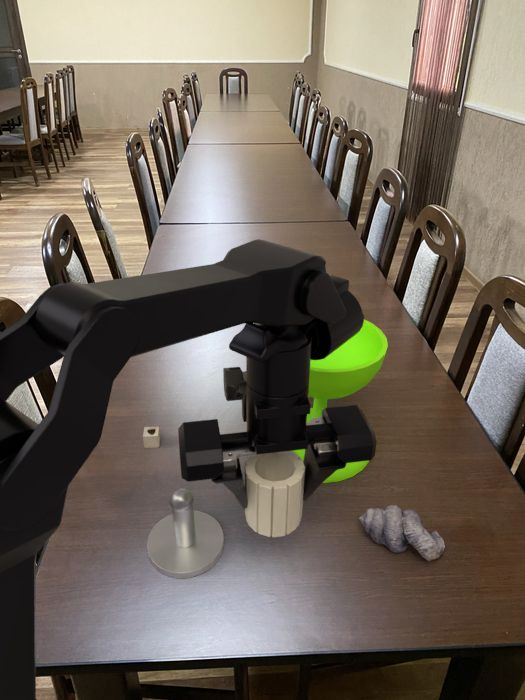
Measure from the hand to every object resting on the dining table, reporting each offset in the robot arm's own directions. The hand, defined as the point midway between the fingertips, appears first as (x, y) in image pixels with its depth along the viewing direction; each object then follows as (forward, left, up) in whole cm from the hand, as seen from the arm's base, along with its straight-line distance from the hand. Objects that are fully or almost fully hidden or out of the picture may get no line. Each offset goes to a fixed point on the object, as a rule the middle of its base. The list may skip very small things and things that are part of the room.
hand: (274, 501), depth 57 cm
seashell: (+15, 0, -10) cm, 18 cm away
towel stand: (-10, +4, -10) cm, 14 cm away
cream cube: (-14, +23, -10) cm, 28 cm away
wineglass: (+10, +19, -10) cm, 24 cm away
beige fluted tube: (0, 0, -2) cm, 2 cm away
